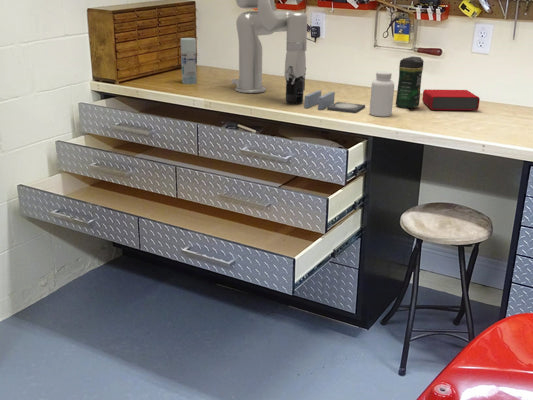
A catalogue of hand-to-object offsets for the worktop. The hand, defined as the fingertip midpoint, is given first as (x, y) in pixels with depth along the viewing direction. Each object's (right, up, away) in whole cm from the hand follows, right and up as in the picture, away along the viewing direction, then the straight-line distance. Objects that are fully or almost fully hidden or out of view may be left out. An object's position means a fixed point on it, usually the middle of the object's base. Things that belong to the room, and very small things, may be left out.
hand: (295, 92), depth 243 cm
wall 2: (+11, -6, -4) cm, 13 cm away
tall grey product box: (-45, +8, +34) cm, 57 cm away
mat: (+19, -7, -7) cm, 21 cm away
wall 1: (+7, -5, -1) cm, 8 cm away
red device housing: (+60, -5, +2) cm, 60 cm away
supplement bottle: (0, -4, +2) cm, 4 cm away
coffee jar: (+43, -6, -1) cm, 43 cm away
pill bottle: (+30, -11, -15) cm, 35 cm away
